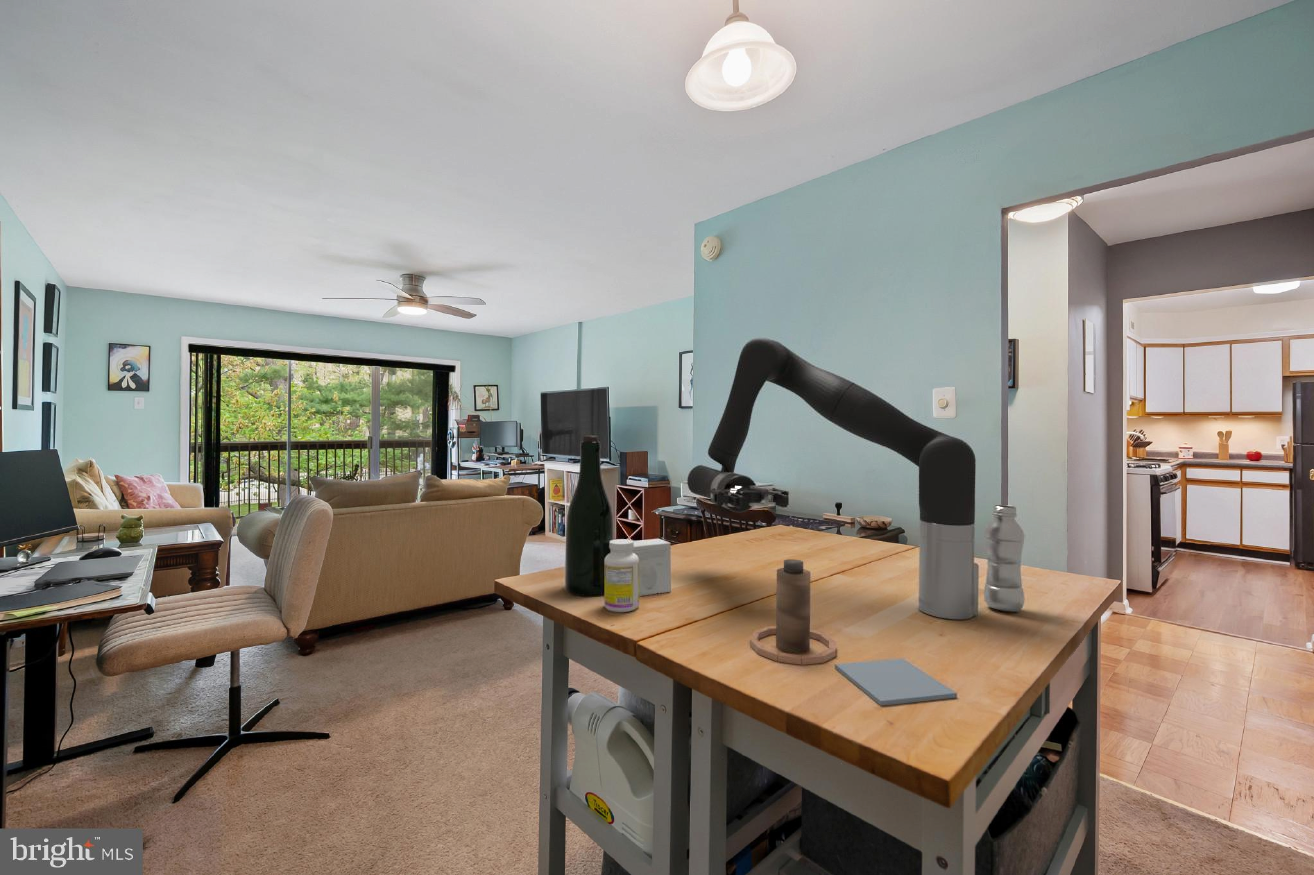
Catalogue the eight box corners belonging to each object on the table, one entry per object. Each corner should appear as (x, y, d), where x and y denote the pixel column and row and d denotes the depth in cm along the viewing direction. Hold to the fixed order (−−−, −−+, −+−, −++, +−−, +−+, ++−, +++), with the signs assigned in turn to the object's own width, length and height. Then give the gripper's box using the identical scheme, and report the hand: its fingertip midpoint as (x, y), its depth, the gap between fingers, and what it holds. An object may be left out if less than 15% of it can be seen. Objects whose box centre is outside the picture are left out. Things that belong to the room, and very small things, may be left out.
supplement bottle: (619, 600, 111) (619, 536, 110) (645, 606, 107) (646, 540, 107) (596, 608, 105) (597, 541, 105) (623, 615, 101) (624, 546, 101)
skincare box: (658, 584, 122) (658, 537, 122) (671, 592, 116) (672, 542, 116) (614, 590, 118) (614, 541, 118) (625, 598, 112) (626, 547, 112)
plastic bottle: (1025, 617, 101) (1026, 509, 101) (982, 611, 105) (984, 506, 105) (1023, 608, 107) (1025, 505, 107) (983, 602, 111) (984, 503, 110)
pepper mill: (800, 639, 90) (801, 557, 90) (815, 652, 85) (816, 564, 85) (770, 641, 89) (771, 558, 89) (784, 654, 84) (785, 566, 84)
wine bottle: (593, 600, 111) (594, 435, 110) (554, 591, 116) (555, 435, 116) (624, 587, 119) (624, 435, 119) (586, 580, 125) (587, 434, 124)
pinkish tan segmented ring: (810, 629, 95) (810, 623, 95) (852, 660, 82) (852, 653, 82) (739, 634, 92) (739, 628, 92) (771, 667, 80) (771, 660, 80)
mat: (902, 662, 82) (902, 658, 82) (957, 697, 71) (957, 692, 71) (834, 668, 80) (834, 664, 80) (880, 705, 69) (880, 700, 69)
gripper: (700, 473, 113) (726, 481, 97) (765, 473, 116) (801, 481, 100) (699, 509, 113) (725, 523, 97) (764, 508, 116) (800, 522, 100)
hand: (763, 502), depth 99 cm, fingers open, 8 cm apart
